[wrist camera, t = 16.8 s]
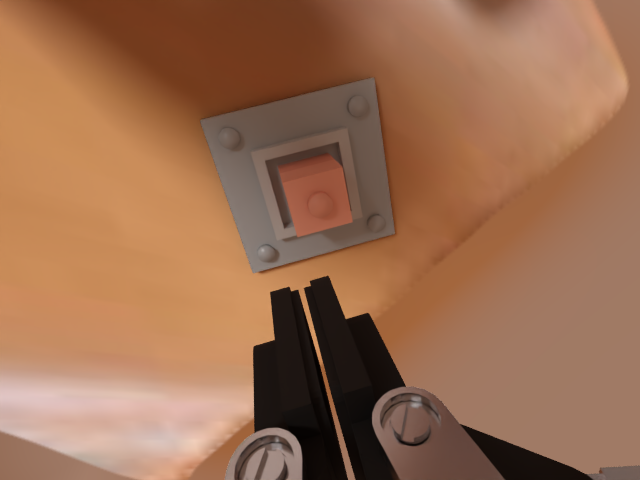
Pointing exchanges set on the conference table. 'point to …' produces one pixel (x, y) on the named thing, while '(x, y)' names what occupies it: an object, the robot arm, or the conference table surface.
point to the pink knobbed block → (315, 193)
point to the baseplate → (296, 144)
